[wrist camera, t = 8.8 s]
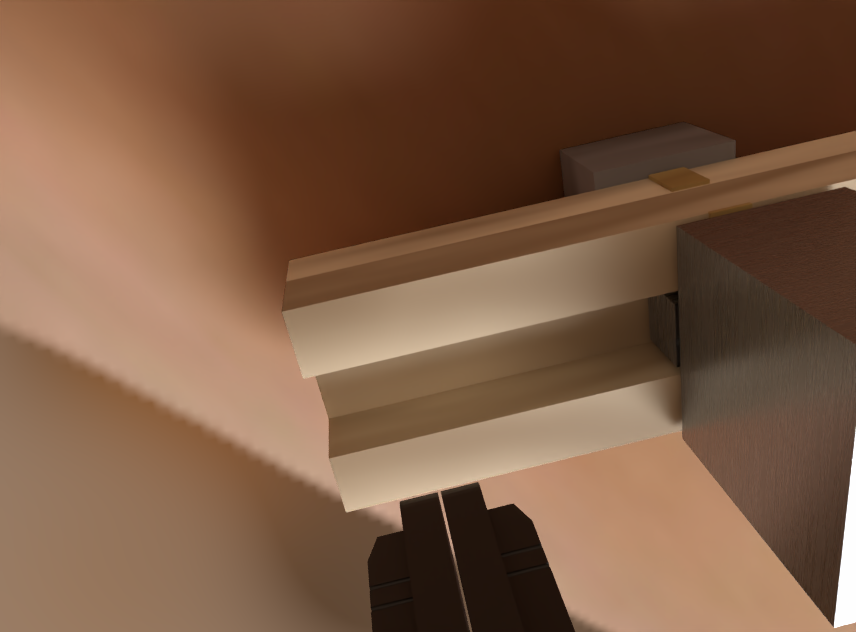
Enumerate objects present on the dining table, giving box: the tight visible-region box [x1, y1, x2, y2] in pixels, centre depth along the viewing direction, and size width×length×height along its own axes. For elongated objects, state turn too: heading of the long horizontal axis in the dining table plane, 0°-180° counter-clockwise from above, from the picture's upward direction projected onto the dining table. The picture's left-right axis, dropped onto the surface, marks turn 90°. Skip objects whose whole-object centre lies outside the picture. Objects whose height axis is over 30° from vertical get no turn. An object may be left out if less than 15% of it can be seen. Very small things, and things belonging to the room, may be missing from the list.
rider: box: [648, 187, 856, 627], centre depth 15 cm, size 6×4×8 cm, turn 11°
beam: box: [282, 122, 856, 512], centre depth 20 cm, size 7×21×6 cm, turn 101°
